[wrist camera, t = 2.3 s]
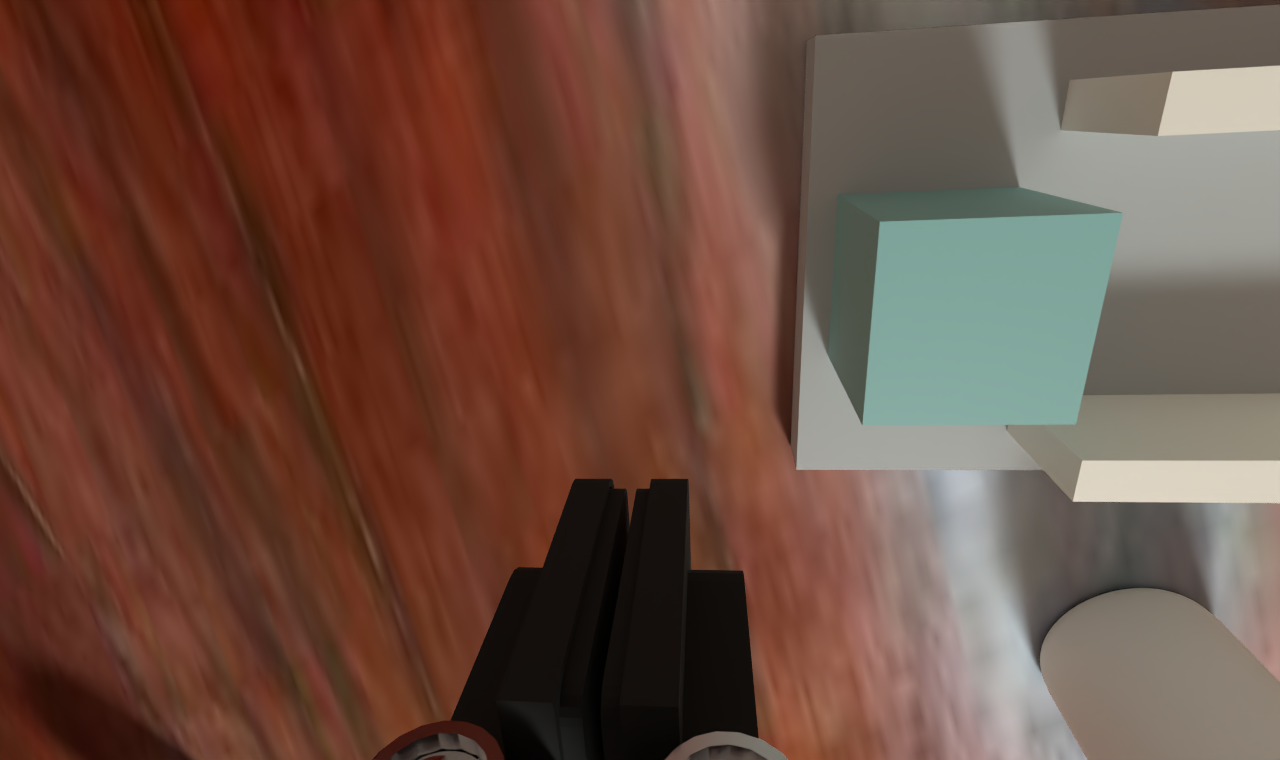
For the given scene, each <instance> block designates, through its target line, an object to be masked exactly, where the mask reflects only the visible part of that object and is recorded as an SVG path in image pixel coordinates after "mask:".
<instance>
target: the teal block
mask: <svg viewBox="0 0 1280 760" xmlns="http://www.w3.org/2000/svg"><path fill="white" fill-rule="evenodd" d="M1122 216H1123V213H1122V212H1118V211H1114V210H1110V209H1106V208H1102V207H1098V206H1094V205H1090V204H1086V203H1082V202H1078V201H1074V200H1070V199H1066V198H1062V197H1058V196H1054V195H1050V194H1046V193H1042V192H1038V191H1034V190H1030V189H1026V188H1021V187H1007V188H983V189H958V190H934V191H910V192H885V193H861V194H838V199H837V216H836V232H835V249H834V265H833V281H832V298H831V314H830V331H829V347H828V357H829V359H830V361H831V363H832V365H833V367H834V369H835V371H836V373H837V375H838V377H839V379H840V381H841V383H842V385H843V387H844V389H845V391H846V393H847V395H848V397H849V399H850V401H851V403H852V406H853V408H854V410H855V412H856V414H857V416H858V418H859V420H860V422H861V424H862V426H879V425H1076V423H1077V418H1078V414H1079V409H1080V405H1081V400H1082V396H1083V391H1084V387H1085V382H1086V378H1087V373H1088V369H1089V364H1090V360H1091V355H1092V351H1093V346H1094V342H1095V337H1096V333H1097V328H1098V324H1099V319H1100V315H1101V311H1102V306H1103V302H1104V297H1105V293H1106V288H1107V284H1108V279H1109V275H1110V270H1111V266H1112V261H1113V257H1114V252H1115V248H1116V243H1117V239H1118V234H1119V230H1120V225H1121V221H1122Z"/></svg>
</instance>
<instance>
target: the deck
mask: <svg viewBox="0 0 1280 760" xmlns="http://www.w3.org/2000/svg"><path fill="white" fill-rule="evenodd" d="M1007 187H1021V188H1026V189H1030V190H1034V191H1038V192H1042V193H1046V194H1050V195H1054V196H1058V197H1062V198H1066V199H1070V200H1074V201H1078V202H1082V203H1086V204H1090V205H1094V206H1098V207H1102V208H1106V209H1110V210H1114V211H1118V212H1122V213H1123V216H1122V221H1121V225H1120V230H1119V234H1118V239H1117V243H1116V248H1115V252H1114V257H1113V261H1112V266H1111V270H1110V275H1109V279H1108V284H1107V288H1106V293H1105V297H1104V302H1103V306H1102V311H1101V315H1100V319H1099V324H1098V328H1097V333H1096V337H1095V342H1094V346H1093V351H1092V355H1091V360H1090V364H1089V369H1088V373H1087V378H1086V382H1085V387H1084V391H1083V396H1082V400H1081V405H1080V409H1079V414H1078V418H1077V423H1076V425H879V426H862V424H861V422H860V420H859V418H858V416H857V414H856V412H855V410H854V408H853V406H852V403H851V401H850V399H849V397H848V395H847V393H846V391H845V389H844V387H843V385H842V383H841V381H840V379H839V377H838V375H837V373H836V371H835V369H834V367H833V365H832V363H831V361H830V359H829V357H828V347H829V331H830V314H831V298H832V281H833V265H834V249H835V232H836V216H837V199H838V194H861V193H885V192H910V191H934V190H958V189H983V188H1007ZM791 450H792V454H793V458H794V462H795V466H796V470H1044V471H1045V473H1046V474H1047V475H1048V476H1049V477H1050V478H1051V479H1052V480H1053V481H1054V482H1055V483H1056V484H1057V485H1058V486H1059V488H1060V489H1061V490H1062V491H1063V492H1064V493H1065V494H1066V495H1067V496H1068V497H1069V498H1070V499H1071V500H1072V501H1073V502H1199V503H1280V4H1279V5H1264V6H1249V7H1234V8H1219V9H1204V10H1189V11H1174V12H1159V13H1144V14H1129V15H1114V16H1099V17H1084V18H1069V19H1054V20H1039V21H1023V22H1008V23H993V24H978V25H963V26H948V27H933V28H918V29H903V30H888V31H873V32H858V33H843V34H828V35H815V36H814V37H812V38H811V39H809V40H808V41H807V49H806V74H805V99H804V124H803V149H802V174H801V199H800V224H799V249H798V274H797V299H796V324H795V349H794V374H793V399H792V424H791Z"/></svg>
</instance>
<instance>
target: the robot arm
mask: <svg viewBox="0 0 1280 760" xmlns="http://www.w3.org/2000/svg"><path fill="white" fill-rule="evenodd" d="M373 760H788V759H787V758H786V757H785V756H784V755H783V754H782V753H781V752H780V751H778V750H777V749H775V748H774V747H772V746H771V745H769V744H767V743H766V742H764V741H763V740H761V739H758V727H757V716H756V705H755V694H754V683H753V672H752V661H751V650H750V639H749V627H748V616H747V605H746V594H745V583H744V574H743V571H725V570H691V552H690V515H689V483H688V479H651V483H650V489H637V490H636V495H635V501H634V506H633V512H632V518H631V523H630V526H629V511H628V497H627V490H626V489H614V484H613V480H612V479H575V480H574V482H573V484H572V487H571V489H570V492H569V495H568V498H567V501H566V504H565V506H564V509H563V512H562V515H561V518H560V520H559V523H558V526H557V529H556V532H555V535H554V537H553V540H552V543H551V546H550V549H549V552H548V554H547V557H546V560H545V563H544V566H543V568H525V567H518V568H517V569H515V570H514V572H513V573H512V575H511V577H510V579H509V582H508V584H507V586H506V589H505V591H504V594H503V596H502V598H501V601H500V603H499V606H498V608H497V610H496V613H495V615H494V618H493V620H492V622H491V625H490V627H489V630H488V632H487V634H486V637H485V639H484V642H483V644H482V646H481V649H480V651H479V654H478V656H477V658H476V661H475V663H474V666H473V668H472V670H471V673H470V675H469V678H468V680H467V682H466V685H465V687H464V690H463V692H462V694H461V697H460V699H459V702H458V704H457V706H456V709H455V711H454V714H453V716H452V718H451V721H440V722H436V723H431V724H427V725H423V726H420V727H418V728H416V729H414V730H412V731H409V732H407V733H405V734H403V735H401V736H399V737H398V738H397V739H395V740H394V741H393V742H391V743H390V744H389V745H387V746H386V747H385V748H383V749H382V750H381V751H380V752H379V753H378V754H377V755H376V756H375V757H374V758H373Z"/></svg>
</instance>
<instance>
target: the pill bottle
mask: <svg viewBox="0 0 1280 760" xmlns="http://www.w3.org/2000/svg"><path fill="white" fill-rule="evenodd" d="M1040 667H1041V672H1042V676H1043V679H1044V681H1045V684H1046V686H1047V688H1048V691H1049V693H1050V695H1051V696H1052V698H1053V700H1054V702H1055V703H1056V705H1057V707H1058V709H1059V710H1060V712H1061V714H1062V716H1063V717H1064V719H1065V721H1066V723H1067V725H1068V726H1069V728H1070V730H1071V732H1072V733H1073V735H1074V737H1075V739H1076V740H1077V742H1078V744H1079V746H1080V747H1081V749H1082V751H1083V753H1084V754H1085V756H1086V758H1087V760H1280V682H1279V681H1278V680H1277V679H1276V678H1275V677H1274V676H1273V675H1272V674H1271V673H1270V672H1269V671H1268V670H1267V669H1266V668H1265V667H1264V665H1263V664H1262V663H1261V662H1260V661H1259V660H1258V659H1257V658H1256V657H1255V656H1254V655H1253V654H1252V653H1251V652H1250V651H1249V650H1248V649H1247V648H1246V647H1245V646H1244V645H1243V644H1242V643H1241V642H1240V641H1239V640H1238V639H1237V638H1236V637H1235V636H1234V635H1233V634H1232V633H1231V632H1230V631H1229V630H1228V629H1227V628H1226V627H1225V626H1224V625H1223V624H1222V623H1221V622H1220V621H1219V620H1218V619H1217V618H1216V617H1215V616H1213V615H1212V614H1211V613H1210V612H1209V611H1208V610H1206V609H1205V608H1204V607H1202V606H1201V605H1200V604H1198V603H1196V602H1195V601H1193V600H1191V599H1189V598H1187V597H1185V596H1182V595H1180V594H1177V593H1173V592H1170V591H1166V590H1160V589H1153V588H1131V589H1123V590H1117V591H1112V592H1108V593H1105V594H1102V595H1099V596H1096V597H1093V598H1091V599H1089V600H1087V601H1084V602H1083V603H1081V604H1079V605H1077V606H1076V607H1074V608H1072V609H1071V610H1070V611H1068V612H1067V613H1066V614H1064V615H1063V616H1062V617H1061V618H1060V619H1059V620H1058V621H1057V622H1056V623H1055V624H1054V625H1053V626H1052V628H1051V629H1050V631H1049V632H1048V634H1047V635H1046V637H1045V639H1044V642H1043V645H1042V648H1041V653H1040Z"/></svg>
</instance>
